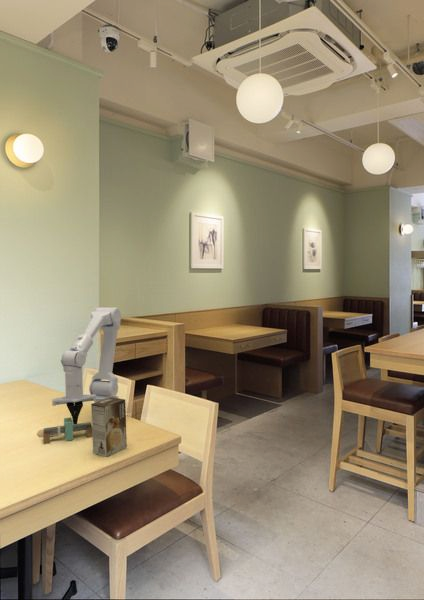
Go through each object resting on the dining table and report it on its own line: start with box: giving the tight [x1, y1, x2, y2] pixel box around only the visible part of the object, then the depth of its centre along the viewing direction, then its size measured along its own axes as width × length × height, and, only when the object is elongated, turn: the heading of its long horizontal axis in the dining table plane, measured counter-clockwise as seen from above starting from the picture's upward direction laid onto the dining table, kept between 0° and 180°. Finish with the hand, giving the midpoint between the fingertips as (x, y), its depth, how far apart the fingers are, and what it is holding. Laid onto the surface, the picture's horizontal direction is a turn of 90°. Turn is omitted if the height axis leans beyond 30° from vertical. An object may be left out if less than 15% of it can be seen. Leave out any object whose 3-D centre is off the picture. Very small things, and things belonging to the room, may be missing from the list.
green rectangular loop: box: [63, 416, 74, 442], centre depth 150 cm, size 2×6×6 cm, turn 23°
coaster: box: [36, 428, 61, 438], centre depth 155 cm, size 9×9×1 cm
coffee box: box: [91, 397, 128, 458], centre depth 138 cm, size 9×6×16 cm
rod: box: [42, 421, 93, 445], centre depth 150 cm, size 16×5×4 cm, turn 113°
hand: (75, 423), depth 151 cm, fingers closed
